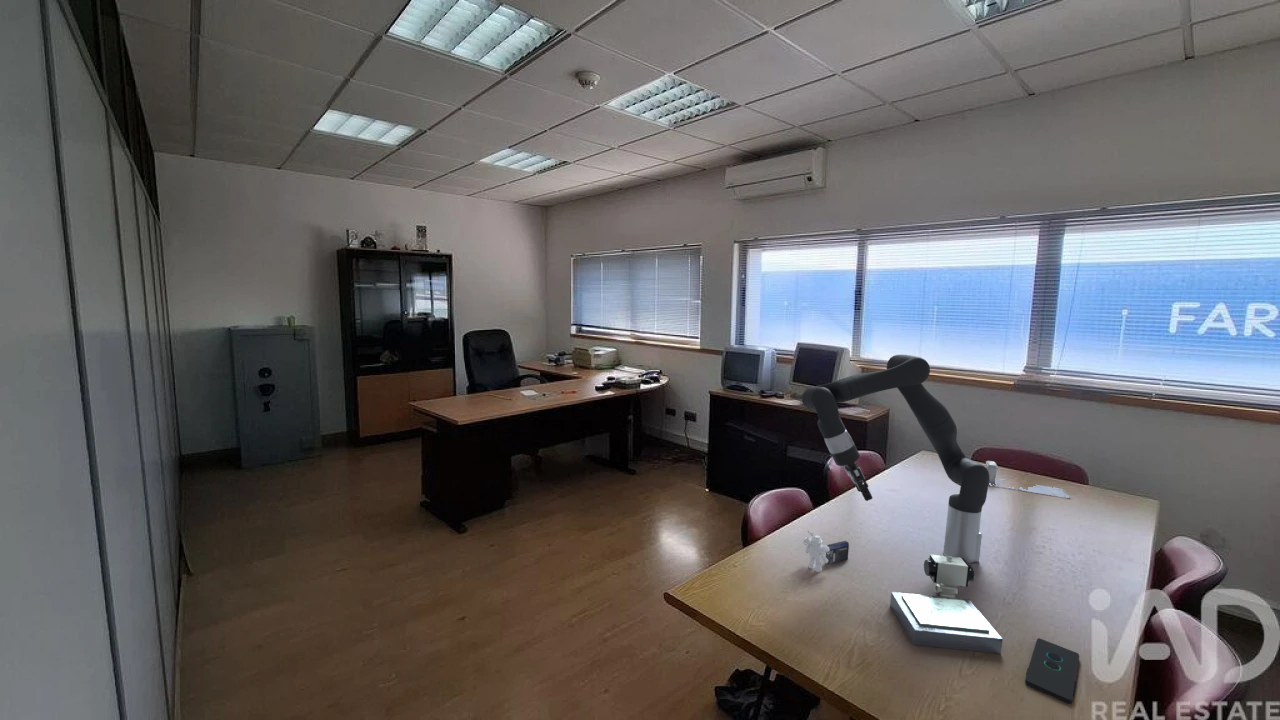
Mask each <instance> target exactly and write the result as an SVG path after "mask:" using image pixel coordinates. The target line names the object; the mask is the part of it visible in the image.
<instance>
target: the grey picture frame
mask: <svg viewBox="0 0 1280 720" xmlns="http://www.w3.org/2000/svg"><path fill="white" fill-rule="evenodd" d="M889 601H890V603H889V605H890V607H891V609H892V611H893V612H894V614H895V616H896V618H897V619H898V621H899V622H900V624H901V626H902V628H903V629H904V631H905V633H906V635H907V637H908V638H909V640H910V641H911V643H912V644H913V646H922V647H932V648H941V649H952V650H958V651H968V652H969V651H971V652H977V653H978V652H979V653H990V654H997V655H998V654H999V655H1002V649H1003V648H1002V647H1003V637H1002V636H1001V635H1000V634H999V633H998V631H997V630H996V629H995V628H994V627H993V626H992V624H991V623H990V622H989V621H988V619H986V617H985V616H984V615H983V614H982V612H980V610H979V609H978V608H977V607H976V606H975V605H974V604H973V602H972V601H971V600H970V599H969V598H964V597H963V598H962V597H955V598H953V597H942V596H940V595H939V596H938V595H930V594H929V595H927V594H919V593H918V594H916V593H908V592H896V591H891V593H890V600H889Z"/></svg>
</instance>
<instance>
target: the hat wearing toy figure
mask: <svg viewBox="0 0 1280 720" xmlns="http://www.w3.org/2000/svg"><path fill="white" fill-rule="evenodd" d="M807 533H808V535H810V536H805V538H803V544H804V546H805V548H806V549H805V553H806V554H809V555H810V561H809V563H808V568H809V569H810V570H814V571H815V572H817V573H820V572H822V571H823V567H822V561H823V562H824V563H825V564H827V563H828V559H827V558H826V554H825V553H826V552H829V551H830V550H829V549H830V548H829V547H827V545H829V544H825V545H824V544H823V539H822V538H821V536H820V535H814V534H815V533H814V532H812V531H810V530H807ZM829 553H830V552H829ZM829 553H827V554H829ZM821 558H822V561H821ZM815 563H816V564H815Z"/></svg>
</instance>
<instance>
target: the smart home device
mask: <svg viewBox="0 0 1280 720" xmlns="http://www.w3.org/2000/svg"><path fill="white" fill-rule="evenodd" d="M1079 660H1080V654H1079V653H1078V652H1076V651H1073V650H1070V649H1068V648H1065V647H1063V646H1060V645H1058V644H1056V643H1053V642H1050V641H1047V640H1045V639H1043V638H1037V639H1036V641H1035V645H1034V648H1033V651H1032V655H1031V658H1030V661H1029V665H1028V668H1027V670H1026V673H1025V681H1024V683H1025V685H1026V686H1028V687H1029V688H1032V689H1033V690H1035V691H1038V692H1041V693H1042V694H1044V695H1047V696H1049V697H1052V698H1053V699H1056V700H1057V701H1058V700H1059V701H1060V702H1063V703H1065V704H1067V705H1072V703H1073V698H1074V696H1075V692H1076V687H1077V686H1076V684H1077V681H1076V680H1077V674H1078V667H1079Z"/></svg>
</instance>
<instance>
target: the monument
mask: <svg viewBox="0 0 1280 720" xmlns="http://www.w3.org/2000/svg"><path fill="white" fill-rule="evenodd" d="M985 465H986V466H985V467H986V468H987V470H988V472H989V483H991V485H992V486H991V487H993V486H996V484H995V478H996V476H997V470H998V469H999V467H998V465H997V463H996V462H995V461H994V460H993V461H992V460H987V461H985ZM999 479H1000V480H998V481H1002V480H1004V479H1002V478H999ZM993 484H994V485H993ZM997 485H998V486H997V487H996V488H999V487H1000V486H999V485H1001V484H1000V483H997ZM1035 485H1036V486H1033V487H1028V490H1026V489H1023V488H1022V487H1020V488H1019V489H1020V490H1022V491H1021V492H1024V491H1027V492H1026V493H1030V492H1032V493H1031V494H1036V493H1038V494H1037V495H1042V494H1044V495H1043V496H1048V495H1051V496H1050V497H1054V496H1057V497H1056V498H1060V497H1064V498H1063V499H1066V498H1070V499H1071V497H1070V496H1069V495H1068V494H1067V493H1066V491H1065V490H1064V488H1062V487H1061V488H1059V487H1055V486H1054V487H1053V486H1046V485H1041V484H1035ZM1005 486H1007V485H1005ZM1052 487H1053V488H1052ZM1005 488H1009V489H1008V490H1011V489H1014V487H1012V488H1011V487H1003V488H1002V489H1005ZM1015 491H1017V489H1016V490H1015ZM1065 493H1066V494H1065Z"/></svg>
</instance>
